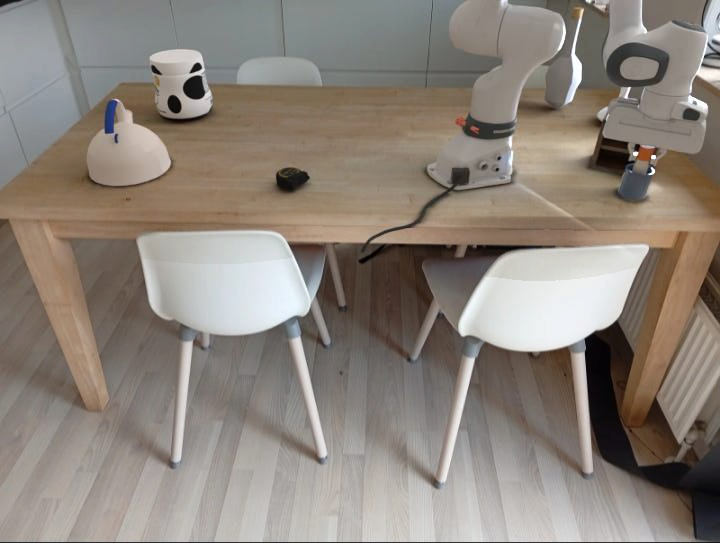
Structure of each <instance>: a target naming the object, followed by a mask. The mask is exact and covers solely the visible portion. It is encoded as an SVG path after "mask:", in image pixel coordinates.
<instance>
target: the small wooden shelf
mask: <svg viewBox="0 0 720 543" xmlns="http://www.w3.org/2000/svg"><path fill="white" fill-rule="evenodd" d="M608 117H609V114H608V112H607V113H606V115H605V116H604V118H603V121H601V125H600V129H599V132H598V135H597V139H596V143H595V146H594V150H593V153H592V157H591V160H590V164H589V167H593V168H596V169H601V170H607V171H610V172H616V173H621V174H623V173H624V170H625V167H626V165H627V164H631V163H635V162H633V161H628V160H629V157H630V153H629V149H628V143H629V142H625V141H620V140H615V139H609V138H605V137H604V136H603V134H602V132H603V129H604V126H605V124H606V121H607V119H608ZM640 145H641V144H635V146H634V147H633V148H634V151H635V152H638V151H639V148H640ZM658 151H659V148H657V147H655V149H654V152H653V156H656V155H657V154H658ZM649 166H650V167H652V168H653V165H649Z"/></svg>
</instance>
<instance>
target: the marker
mask: <svg viewBox="0 0 720 543" xmlns="http://www.w3.org/2000/svg"><path fill="white" fill-rule="evenodd" d="M654 149H655V147H652V146H647V145H640V148H639V151H638V155H637V158H636V161H635V163H634V166H633V170H632V172H635V173H638V174H646V172H647V169H648V166H649V163H650V160H651V157H652V155H653V152H654Z"/></svg>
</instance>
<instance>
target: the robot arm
mask: <svg viewBox="0 0 720 543" xmlns="http://www.w3.org/2000/svg"><path fill="white" fill-rule="evenodd" d="M642 12H643V0H608V14H609V15H608V16H609V17H608V22H609V23H608V30H607V32H606V34H605V37H604V39H603V42H602V45H601V50H600V51H601V52H600V57H601V61H602V63H603V65H604V69H605V73H606V75H607V76H606V77H607V78H608V80H609V81H610V82H611V83H612V84H613V85H615V86H616V87H617V86H618V87H620V88H621V87H631V88H643V87H644V89H643V90H642V94H641V97H640V99H639V98H629V97H627V98H625V97H619V96H618V97H616V98H613V99H611V100H610V101H609V103H608V106H607V107H608V110H607V112H608V114H609V117H608V119H607V121H606V124H605V126H604V129H603V132H602V134H603V136H604V137H605V138H609V139H615V140H620V141H625V142H629V143H628V149H629V153H630V157H629V160H628V161H633V162H635V161H636V158H637V155H638V152H635V151H634V148H633V147H634V146H635V144H641V145H647V146H652V147H657V148H658V149H659V150H658V151H659V152H658V153H657V154H656V156H653V155H652V157H651V160H650V163H649V165H652V167H653V166H654V167H656V166H657V164H658V161H659V160H660V159H661V158H663V157H664V156H666V154H667V152H668V151H674V152H680V153H684V154H690V155H696V154H698V153H699V152H701V150H702V147H703V144H704V141H705V136H706V130H707V120H706V119H707V117H708V114H709V106H708V105H707V103H705V102H703V101H701V100H699V99H697V98H695V97H692V96H691V93H692V84H693V82H694V79H695V78H696V76H697V75H698V73H699V71H700V68H701V66H702V62H703V60H704V56H705V53H706V49H707V45H708V39H709V38H708V37H709V36H708V32H707V31H706V29H705V28H704V27H703V26H701V25H700V24H697V23H696V22H693V21H689V20H686V19H676V18H675V19H671V20H670V21H668V22H666V23H665V24H663V25H661V26H659V27H657V28H655V29H652V30H649V31H647V29H646V27H645V26H644V22H643V17H642V16H643V13H642ZM448 37H449V40H450V43H451V45H452V46H453V47H454V48H455V49H457V50H460V51H462V52H465V53H468V54H471V55H477V56H484V57H490V58H491V57H492V58H499V59H500V60H502V62H501V66H500V67H499V68H497V69H493V70H491V71H489V72H488V71H487V72H486V73H484V74H482V75H480V76H479V77H478V78H477V79H476V81H474V84H473V86H472V93H471V102H470V108H469V109H470V110H469V112H468V113H467V115H466V118H463V117H461V116H457V117H456V118H455V119H454V124H455V125H457V126H459V128H461V130H460V131H459V132H458V133H456V134H455V135H453V137H452V138H451V139H449V141H447V142H446V143H445V144H444V145H443V146H442V147H440V149H439V151H438V154H437V157H436V161H435V162H432V163H430V164H427V167H426V172H427V174H428V175H429V176H430V178H431V179H433V180H434V181H436V182H437V183H438V184H440V185H441V186H444V187H446V188H448V189H445V191H444V192H442V193H441V194H439V195H438V196H436V197H434V198H433V199H431V200H430V201H429V202H427V203H426V205H425V206H424V207H423V209H422V210H421V213H420V215H419V216H418V218H417V219H415V221H412V222H411V223H408V224H405V225H401V226H396V227H392V228H387V229H384V230H382V231H380V232H378V233H376V234H374V235H372V236H370V237H369V238H368V239H367V240H366V241H365V243H364V245H362V248H361V249H360V253H365V251H366V250H367V248H368V246H369V244H370V243H371V242H373V241H374V240H376V239H377V238H379V237H382V236H384V235H386V234H389V233H391V232H397V231H402V230H406V229H409V228H412V227H414V226H416V225H417V224H419V223H420V222H421V221H422V220H423V218H424V216H425V213H426V212H427V209H429V207H430V206H431V205H432V204H434V203H435V202H437V201H438V200H440V199H441V198H443V197H445V196H446V195H448V194H449V193H450V192H452V191H453V190H456V191H464V190H470V189H476V188H477V189H478V188H485V187H490V186H497V185H504V184H509V183H510V182H511V180H512V179H511V178H512V176H511V175H512V174H513V171H514V169H513V155H514V151H513V136H514V134H515V133H516V128H517V122H518V117H517V112H518V106H519V102H520V98H521V94H522V90H523V88H524V85H525V84H526V82H527V80H528V78H529V77H530V76H531V75H532V73H534V71H536V69H537V68H539V67H540V66H542V65H543V64H545V63H546V62H549V61H550V60H552V59H553V58H554V57H555V56H556V55H557V54H558V53H559V52H560V50H561V49H562V47H563V45H564V42H565V39H566V24H565V21H564V18H563V16H562V15H561V13H559V12H555V11H553V10H550V9H546V8H544V7H539V6H529V5H520V4H519V5H517V4H511V3H509V0H465V1H464V2H462V3H461V4H460V5H459V6H457V7H456V9H455V10H454V11H453V13H452V15H451V17H450V20H449V23H448Z"/></svg>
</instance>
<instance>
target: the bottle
mask: <svg viewBox="0 0 720 543" xmlns="http://www.w3.org/2000/svg"><path fill="white" fill-rule="evenodd" d="M572 9H573V10H572V15H571V16H570V23H569V27H568V31H567V32H568V33H567V37H566V42H565V46H564V48H563V51H562V54H561V55H560V56H559V57H558V58H557V59H556V60H554V61H553V62H552V63H551V64H549V67H548V69H547V71H546V73H545V76H544V77H545V78H544V79H545V94H544V101H545V102H546V103H547V104H548V105H549V107H552V108H554V109H556V110H558V109H561V108H562V107H564V106H566V105H567V104H569V103H571V102H572V101H573V99H574V96H575V94H576V90H577V89H578V86H579V85H580V84H581V82H582V68H583V67H582V63H581V61H580V60H579V58H578V57H577V55H576V54H575V52H576V45H577V40H578V35H579V31H580V26H581V23H582V20H583V16H584V15H583V13H584V10H585V8H584V7H579V6H574V7H573V8H572Z"/></svg>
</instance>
